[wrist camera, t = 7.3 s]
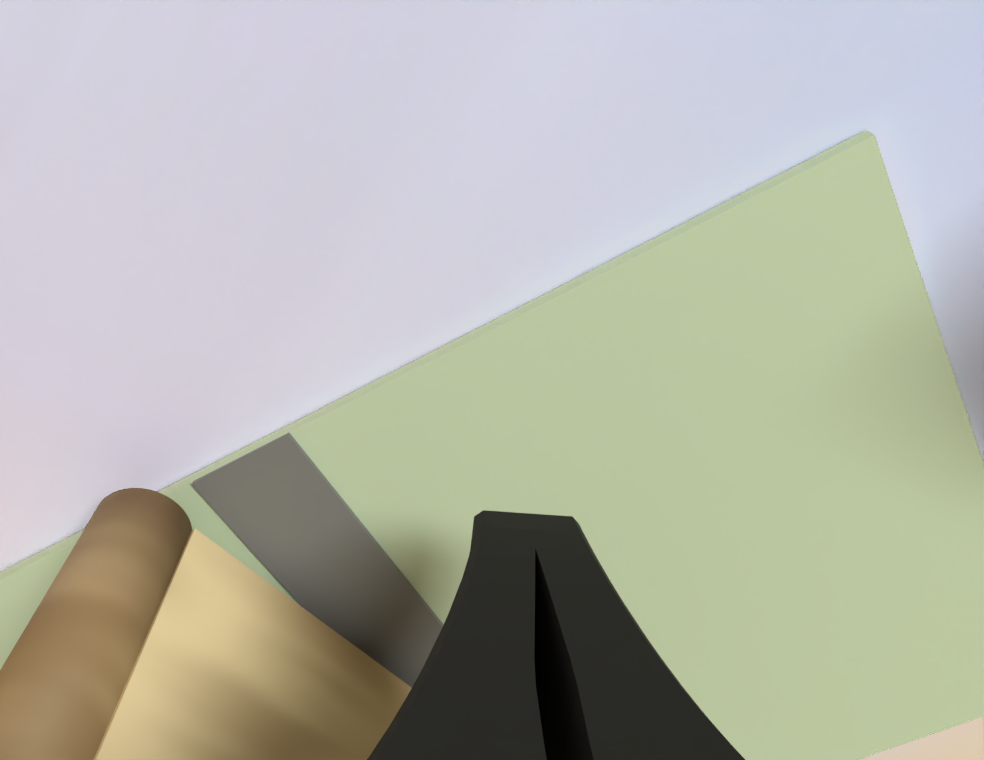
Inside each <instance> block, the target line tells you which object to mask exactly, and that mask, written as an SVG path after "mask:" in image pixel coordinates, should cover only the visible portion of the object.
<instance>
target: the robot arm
mask: <svg viewBox="0 0 984 760" xmlns="http://www.w3.org/2000/svg"><path fill="white" fill-rule="evenodd" d="M367 760H745V759H744V758H743V757H742V755H741V754H740V753H739V752H738V751H737V750H736V749H735V748H734V747H733V746H732V745H731V744H730V742H729V741H728V740H727V739H726V738H725V737H724V736H723V734H722V733H721V732H720V731H719V730H718V729H717V728H716V726H715V725H714V724H713V723H712V722H711V721H710V720H709V718H708V717H707V716H706V715H705V714H704V712H703V711H702V710H701V709H700V708H699V706H698V705H697V704H696V703H695V701H694V700H693V699H692V698H691V696H690V695H689V694H688V693H687V691H686V690H685V689H684V688H683V686H682V685H681V684H680V682H679V681H678V680H677V678H676V677H675V676H674V674H673V673H672V672H671V670H670V669H669V668H668V666H667V665H666V664H665V662H664V661H663V660H662V658H661V657H660V656H659V654H658V653H657V651H656V650H655V649H654V647H653V646H652V644H651V643H650V641H649V640H648V639H647V637H646V636H645V634H644V633H643V631H642V630H641V628H640V627H639V625H638V624H637V622H636V621H635V619H634V618H633V616H632V614H631V613H630V611H629V610H628V608H627V607H626V605H625V604H624V602H623V601H622V599H621V598H620V596H619V594H618V593H617V591H616V590H615V588H614V586H613V585H612V583H611V581H610V579H609V578H608V576H607V574H606V573H605V571H604V569H603V568H602V566H601V564H600V562H599V561H598V559H597V557H596V555H595V553H594V552H593V550H592V548H591V546H590V544H589V542H588V541H587V539H586V537H585V535H584V533H583V531H582V529H581V527H580V525H579V523H578V522H577V521H576V520H575V519H574V518H573V516H559V515H544V514H530V513H515V512H500V511H486V510H483V511H482V512H480V513H479V514H477V515H476V516H474V522H473V530H472V539H471V548H470V553H469V557H468V561H467V564H466V567H465V571H464V574H463V577H462V580H461V582H460V585H459V588H458V590H457V593H456V595H455V598H454V601H453V603H452V606H451V608H450V611H449V614H448V616H447V618H446V621H445V623H444V625H443V627H442V629H441V631H440V633H439V635H438V638H437V640H436V642H435V644H434V646H433V648H432V650H431V652H430V654H429V656H428V658H427V660H426V662H425V664H424V666H423V668H422V670H421V672H420V674H419V676H418V678H417V679H416V681H415V683H414V685H413V687H412V689H411V690H410V692H409V694H408V696H407V697H406V699H405V701H404V702H403V704H402V706H401V707H400V709H399V711H398V712H397V714H396V716H395V717H394V719H393V721H392V722H391V724H390V726H389V727H388V729H387V730H386V732H385V733H384V735H383V736H382V738H381V739H380V741H379V742H378V744H377V745H376V747H375V748H374V750H373V751H372V753H371V754H370V756H369V758H368V759H367Z"/></svg>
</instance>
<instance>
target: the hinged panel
mask: <svg viewBox="0 0 984 760" xmlns="http://www.w3.org/2000/svg"><path fill="white" fill-rule="evenodd" d="M411 689H412V687H410V686H409V685H408V684H406V683H405V682H403V681H402V680H401V679H399V678H398V677H397V676H395V675H394V674H393V673H391V672H390V671H388V670H387V669H386V668H384V667H383V666H382V665H380V664H379V663H378V662H376V661H375V660H373V659H372V658H371V657H369V656H368V655H367V654H365V653H364V652H363V651H361V650H360V649H359V648H357V647H356V646H354V645H353V644H352V643H350V642H349V641H348V640H346V639H345V638H344V637H342V636H341V635H339V634H338V633H337V632H335V631H334V630H333V629H331V628H330V627H329V626H327V625H326V624H325V623H323V622H322V621H320V620H319V619H318V618H316V617H315V616H314V615H312V614H311V613H310V612H308V611H307V610H305V609H304V608H303V607H301V606H300V605H299V604H297V603H296V602H295V601H293V600H292V599H290V598H289V597H288V596H286V595H285V594H284V593H282V592H281V591H280V590H278V589H277V588H276V587H274V586H273V585H271V584H270V583H269V582H267V581H266V580H265V579H263V578H262V577H261V576H259V575H258V574H256V573H255V572H254V571H252V570H251V569H250V568H248V567H247V566H246V565H244V564H243V563H242V562H240V561H239V560H237V559H236V558H235V557H233V556H232V555H231V554H229V553H228V552H227V551H225V550H224V549H222V548H221V547H220V546H218V545H217V544H216V543H214V542H213V541H212V540H210V539H209V538H207V537H206V536H205V535H203V534H202V533H201V532H199V531H198V530H197V529H195V528H194V529H193V530H192V526H191V522H190V520H189V517H188V516H187V514H186V513H185V511H184V510H183V509H182V508H181V507H180V505H178V504H177V503H176V502H175V501H174V500H172V499H171V498H169V497H167V496H165V495H163V494H161V493H159V492H156V491H152V490H148V489H142V488H129V489H123V490H119V491H116V492H114V493H112V494H110V495H108V496H107V497H106V498H104V499H103V500H102V502H101V503H100V504H99V506H98V507H97V509H96V511H95V512H94V514H93V516H92V517H91V519H90V521H89V522H88V524H87V526H86V527H85V529H84V531H83V533H82V534H81V536H80V538H79V539H78V541H77V543H76V544H75V546H74V548H73V549H72V551H71V553H70V554H69V556H68V558H67V559H66V561H65V563H64V564H63V566H62V568H61V569H60V571H59V573H58V574H57V576H56V578H55V579H54V581H53V583H52V584H51V586H50V588H49V589H48V591H47V593H46V594H45V596H44V598H43V599H42V601H41V603H40V604H39V606H38V608H37V609H36V611H35V613H34V614H33V616H32V618H31V619H30V621H29V623H28V624H27V626H26V628H25V629H24V631H23V633H22V634H21V636H20V638H19V640H18V641H17V643H16V645H15V646H14V648H13V650H12V651H11V653H10V655H9V656H8V658H7V660H6V661H5V663H4V665H3V666H2V668H1V670H0V760H367V759H368V758H369V756H370V754H371V753H372V751H373V750H374V748H375V747H376V745H377V744H378V742H379V741H380V739H381V738H382V736H383V735H384V733H385V732H386V730H387V729H388V727H389V726H390V724H391V722H392V721H393V719H394V717H395V716H396V714H397V712H398V711H399V709H400V707H401V706H402V704H403V702H404V701H405V699H406V697H407V696H408V694H409V692H410V690H411Z"/></svg>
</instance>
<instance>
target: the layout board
mask: <svg viewBox="0 0 984 760" xmlns="http://www.w3.org/2000/svg"><path fill="white" fill-rule="evenodd" d="M158 492H159V493H161V494H163V495H165V496H167V497H169V498H171V499H172V500H174V501H175V502H176V503H177V504H178V505H180V507H181V508H182V509H183V510H184V511H185V513H186V514H187V516H188V517H189V520H190V522H191V526H192V530H193V529H194V528H195V529H197V530H198V531H199V532H201V533H202V534H203V535H205V536H206V537H207V538H209V539H210V540H212V541H213V542H214V543H216V544H217V545H218V546H220V547H221V548H222V549H224V550H225V551H227V552H228V553H229V554H231V555H232V556H233V557H235V558H236V559H237V560H239V561H240V562H242V563H243V564H244V565H246V566H247V567H248V568H250V569H251V570H252V571H254V572H255V573H256V574H258V575H259V576H261V577H262V578H263V579H265V580H266V581H267V582H269V583H270V584H271V585H273V586H274V587H276V588H277V589H278V590H280V591H281V592H282V593H284V594H285V595H286V596H288V597H289V598H290V599H292V600H293V601H295V602H296V603H297V604H299V605H300V606H301V607H303V608H304V609H305V610H307V611H308V612H310V613H311V614H312V615H314V616H315V617H316V618H318V619H319V620H320V621H322V622H323V623H325V624H326V625H327V626H329V627H330V628H331V629H333V630H334V631H335V632H337V633H338V634H339V635H341V636H342V637H344V638H345V639H346V640H348V641H349V642H350V643H352V644H353V645H354V646H356V647H357V648H359V649H360V650H361V651H363V652H364V653H365V654H367V655H368V656H369V657H371V658H372V659H373V660H375V661H376V662H378V663H379V664H380V665H382V666H383V667H384V668H386V669H387V670H388V671H390V672H391V673H393V674H394V675H395V676H397V677H398V678H399V679H401V680H402V681H403V682H405V683H406V684H408V685H409V686H410V687H413V685H414V683H415V681H416V679H417V678H418V676H419V674H420V672H421V670H422V668H423V666H424V664H425V662H426V660H427V658H428V656H429V654H430V652H431V650H432V648H433V646H434V644H435V642H436V640H437V638H438V635H439V633H440V631H441V629H442V627H443V625H444V623H445V621H446V618H447V616H448V614H449V611H450V608H451V606H452V603H453V601H454V598H455V595H456V593H457V590H458V588H459V585H460V582H461V580H462V577H463V574H464V571H465V567H466V564H467V561H468V557H469V553H470V548H471V539H472V530H473V522H474V516H476V515H477V514H479V513H480V512H482V511H483V510H486V511H500V512H515V513H530V514H544V515H559V516H573V518H574V519H575V520H576V521H577V522H578V523H579V525H580V527H581V529H582V531H583V533H584V535H585V537H586V539H587V541H588V542H589V544H590V546H591V548H592V550H593V552H594V553H595V555H596V557H597V559H598V561H599V562H600V564H601V566H602V568H603V569H604V571H605V573H606V574H607V576H608V578H609V579H610V581H611V583H612V585H613V586H614V588H615V590H616V591H617V593H618V594H619V596H620V598H621V599H622V601H623V602H624V604H625V605H626V607H627V608H628V610H629V611H630V613H631V614H632V616H633V618H634V619H635V621H636V622H637V624H638V625H639V627H640V628H641V630H642V631H643V633H644V634H645V636H646V637H647V639H648V640H649V641H650V643H651V644H652V646H653V647H654V649H655V650H656V651H657V653H658V654H659V656H660V657H661V658H662V660H663V661H664V662H665V664H666V665H667V666H668V668H669V669H670V670H671V672H672V673H673V674H674V676H675V677H676V678H677V680H678V681H679V682H680V684H681V685H682V686H683V688H684V689H685V690H686V691H687V693H688V694H689V695H690V696H691V698H692V699H693V700H694V701H695V703H696V704H697V705H698V706H699V708H700V709H701V710H702V711H703V712H704V714H705V715H706V716H707V717H708V718H709V720H710V721H711V722H712V723H713V724H714V725H715V726H716V728H717V729H718V730H719V731H720V732H721V733H722V734H723V736H724V737H725V738H726V739H727V740H728V741H729V742H730V744H731V745H732V746H733V747H734V748H735V749H736V750H737V751H738V752H739V753H740V754H741V755H742V757H743V758H744V759H745V760H859V759H862V758H864V757H867V756H870V755H873V754H876V753H879V752H882V751H885V750H887V749H890V748H893V747H896V746H899V745H902V744H905V743H908V742H911V741H913V740H916V739H919V738H922V737H925V736H928V735H931V734H934V733H936V732H939V731H942V730H945V729H948V728H951V727H954V726H957V725H960V724H962V723H965V722H968V721H971V720H974V719H977V718H980V717H983V716H984V463H983V460H982V457H981V454H980V451H979V448H978V445H977V442H976V439H975V436H974V433H973V430H972V427H971V424H970V421H969V418H968V415H967V412H966V409H965V406H964V403H963V400H962V397H961V394H960V391H959V388H958V385H957V382H956V379H955V376H954V373H953V370H952V367H951V364H950V361H949V358H948V355H947V352H946V349H945V346H944V343H943V340H942V337H941V334H940V331H939V328H938V325H937V322H936V319H935V316H934V312H933V309H932V306H931V303H930V300H929V297H928V294H927V291H926V288H925V285H924V282H923V279H922V276H921V273H920V270H919V267H918V264H917V261H916V258H915V255H914V252H913V249H912V246H911V243H910V240H909V237H908V234H907V231H906V228H905V225H904V222H903V219H902V216H901V213H900V210H899V207H898V204H897V201H896V198H895V195H894V192H893V189H892V186H891V183H890V180H889V177H888V174H887V171H886V168H885V165H884V162H883V159H882V156H881V153H880V150H879V147H878V144H877V141H876V138H875V135H874V134H872V133H870V132H869V131H867V130H865V131H863V132H861V133H859V134H857V135H855V136H853V137H851V138H849V139H847V140H845V141H843V142H841V143H839V144H837V145H835V146H833V147H831V148H829V149H827V150H826V151H824V152H822V153H820V154H818V155H816V156H814V157H812V158H810V159H808V160H806V161H804V162H802V163H800V164H798V165H796V166H794V167H792V168H790V169H788V170H786V171H784V172H782V173H780V174H778V175H777V176H775V177H773V178H771V179H769V180H767V181H765V182H763V183H761V184H759V185H757V186H755V187H753V188H751V189H749V190H747V191H745V192H743V193H741V194H739V195H737V196H735V197H733V198H731V199H730V200H728V201H726V202H724V203H722V204H720V205H718V206H716V207H714V208H712V209H710V210H708V211H706V212H704V213H702V214H700V215H698V216H696V217H694V218H692V219H690V220H688V221H686V222H684V223H683V224H681V225H679V226H677V227H675V228H673V229H671V230H669V231H667V232H665V233H663V234H661V235H659V236H657V237H655V238H653V239H651V240H649V241H647V242H645V243H643V244H641V245H639V246H637V247H636V248H634V249H632V250H630V251H628V252H626V253H624V254H622V255H620V256H618V257H616V258H614V259H612V260H610V261H608V262H606V263H604V264H602V265H600V266H598V267H596V268H594V269H592V270H590V271H589V272H587V273H585V274H583V275H581V276H579V277H577V278H575V279H573V280H571V281H569V282H567V283H565V284H563V285H561V286H559V287H557V288H555V289H553V290H551V291H549V292H547V293H545V294H543V295H541V296H540V297H538V298H536V299H534V300H532V301H530V302H528V303H526V304H524V305H522V306H520V307H518V308H516V309H514V310H512V311H510V312H508V313H506V314H504V315H502V316H500V317H498V318H496V319H494V320H493V321H491V322H489V323H487V324H485V325H483V326H481V327H479V328H477V329H475V330H473V331H471V332H469V333H467V334H465V335H463V336H461V337H459V338H457V339H455V340H453V341H451V342H449V343H447V344H446V345H444V346H442V347H440V348H438V349H436V350H434V351H432V352H430V353H428V354H426V355H424V356H422V357H420V358H418V359H416V360H414V361H412V362H410V363H408V364H406V365H404V366H402V367H400V368H399V369H397V370H395V371H393V372H391V373H389V374H387V375H385V376H383V377H381V378H379V379H377V380H375V381H373V382H371V383H369V384H367V385H365V386H363V387H361V388H359V389H357V390H355V391H353V392H352V393H350V394H348V395H346V396H344V397H342V398H340V399H338V400H336V401H334V402H332V403H330V404H328V405H326V406H324V407H322V408H320V409H318V410H316V411H314V412H312V413H310V414H308V415H306V416H305V417H303V418H301V419H299V420H297V421H295V422H293V423H291V424H289V425H287V426H285V427H283V428H281V429H279V430H277V431H275V432H273V433H271V434H269V435H267V436H265V437H263V438H261V439H259V440H257V441H256V442H254V443H252V444H250V445H248V446H246V447H244V448H242V449H240V450H238V451H236V452H234V453H232V454H230V455H228V456H226V457H224V458H222V459H220V460H218V461H216V462H214V463H212V464H210V465H209V466H207V467H205V468H203V469H201V470H199V471H197V472H195V473H193V474H191V475H189V476H187V477H185V478H183V479H181V480H179V481H177V482H175V483H173V484H171V485H169V486H167V487H165V488H163V489H162V490H160V491H158ZM83 531H84V529H83V530H81V531H79V532H77V533H75V534H73V535H71V536H69V537H68V538H66V539H64V540H62V541H60V542H58V543H56V544H54V545H52V546H50V547H48V548H46V549H44V550H42V551H40V552H38V553H36V554H34V555H32V556H30V557H28V558H26V559H24V560H22V561H21V562H19V563H17V564H15V565H13V566H11V567H9V568H7V569H5V570H3V571H1V572H0V670H1V668H2V666H3V665H4V663H5V661H6V660H7V658H8V656H9V655H10V653H11V651H12V650H13V648H14V646H15V645H16V643H17V641H18V640H19V638H20V636H21V634H22V633H23V631H24V629H25V628H26V626H27V624H28V623H29V621H30V619H31V618H32V616H33V614H34V613H35V611H36V609H37V608H38V606H39V604H40V603H41V601H42V599H43V598H44V596H45V594H46V593H47V591H48V589H49V588H50V586H51V584H52V583H53V581H54V579H55V578H56V576H57V574H58V573H59V571H60V569H61V568H62V566H63V564H64V563H65V561H66V559H67V558H68V556H69V554H70V553H71V551H72V549H73V548H74V546H75V544H76V543H77V541H78V539H79V538H80V536H81V534H82V533H83Z"/></svg>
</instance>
